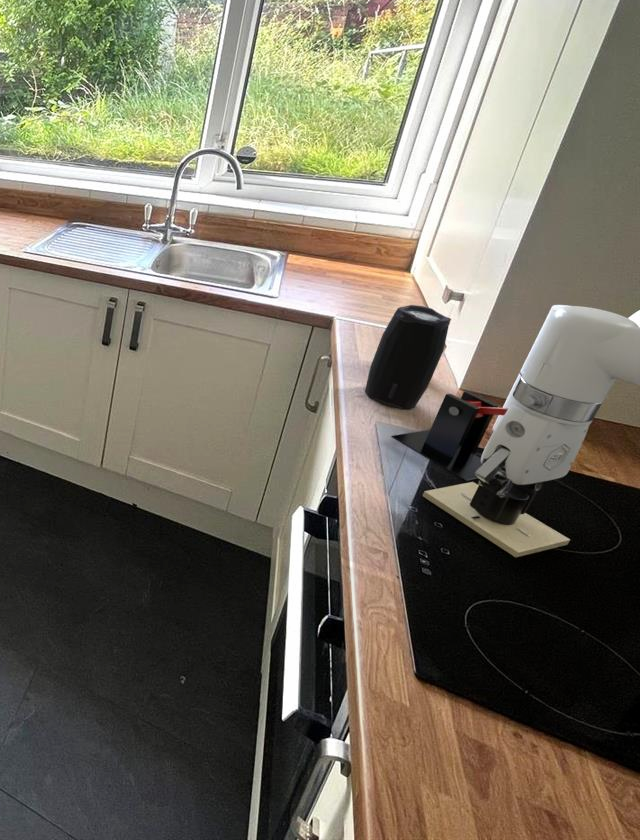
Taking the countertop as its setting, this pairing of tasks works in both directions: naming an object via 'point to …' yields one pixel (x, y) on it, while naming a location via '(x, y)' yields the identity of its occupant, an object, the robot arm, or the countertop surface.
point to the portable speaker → (407, 356)
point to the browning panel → (510, 538)
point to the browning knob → (511, 505)
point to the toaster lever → (488, 409)
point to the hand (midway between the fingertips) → (496, 509)
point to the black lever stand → (453, 435)
